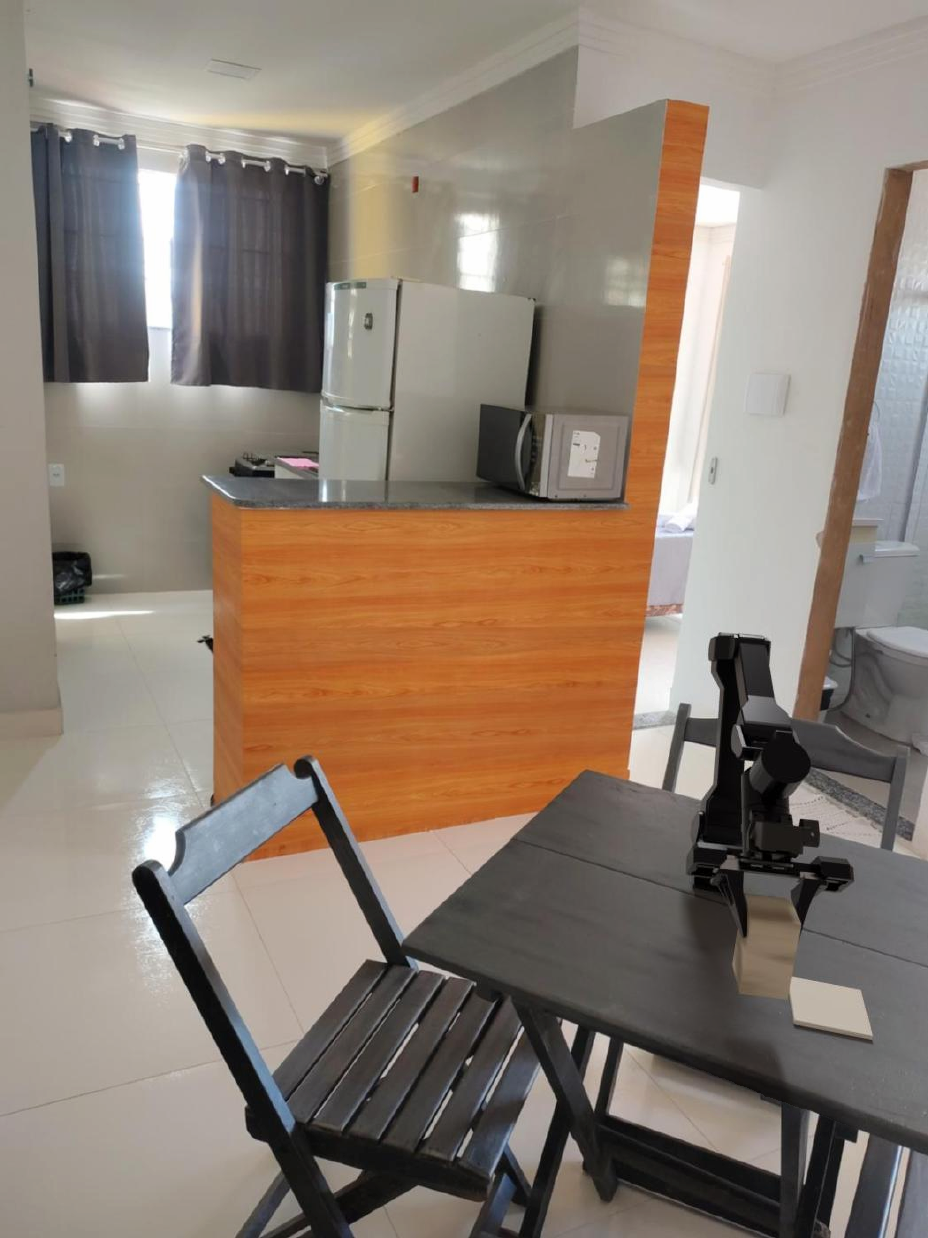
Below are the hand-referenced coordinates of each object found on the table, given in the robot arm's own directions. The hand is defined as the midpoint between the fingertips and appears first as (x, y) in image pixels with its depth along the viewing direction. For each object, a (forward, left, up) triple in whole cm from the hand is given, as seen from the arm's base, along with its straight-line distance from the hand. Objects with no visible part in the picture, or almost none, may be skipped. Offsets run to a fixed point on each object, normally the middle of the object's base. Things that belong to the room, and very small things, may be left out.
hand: (769, 940), depth 109 cm
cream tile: (+9, +7, -12) cm, 17 cm away
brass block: (0, +1, -7) cm, 7 cm away
